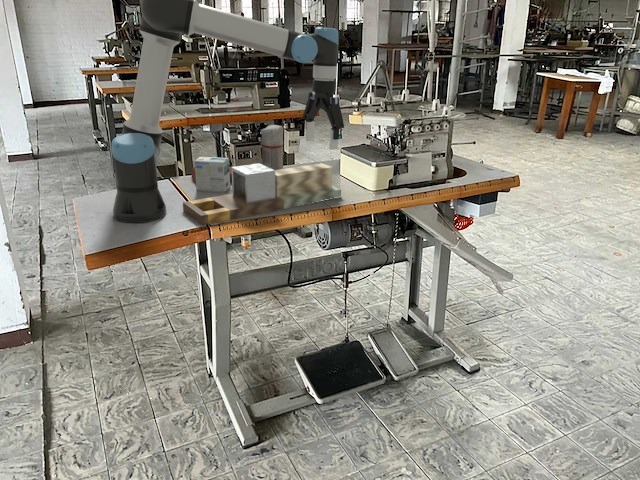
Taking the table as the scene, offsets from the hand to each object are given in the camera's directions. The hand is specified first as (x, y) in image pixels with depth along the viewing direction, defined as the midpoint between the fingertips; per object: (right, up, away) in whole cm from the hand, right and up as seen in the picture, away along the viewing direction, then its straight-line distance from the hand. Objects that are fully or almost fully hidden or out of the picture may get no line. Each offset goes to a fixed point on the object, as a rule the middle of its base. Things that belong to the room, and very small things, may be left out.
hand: (321, 145), depth 175 cm
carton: (-35, -9, +21) cm, 42 cm away
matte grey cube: (-22, -18, -9) cm, 30 cm away
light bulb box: (-38, -14, +9) cm, 42 cm away
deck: (-18, -20, -5) cm, 28 cm away
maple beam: (-7, -15, +1) cm, 16 cm away
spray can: (-18, -9, +23) cm, 31 cm away
